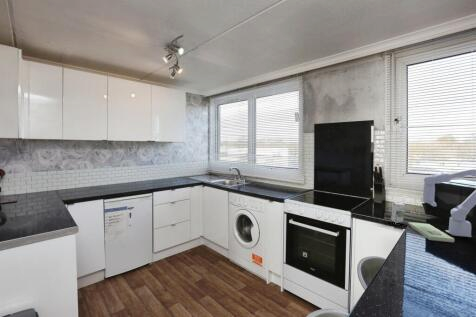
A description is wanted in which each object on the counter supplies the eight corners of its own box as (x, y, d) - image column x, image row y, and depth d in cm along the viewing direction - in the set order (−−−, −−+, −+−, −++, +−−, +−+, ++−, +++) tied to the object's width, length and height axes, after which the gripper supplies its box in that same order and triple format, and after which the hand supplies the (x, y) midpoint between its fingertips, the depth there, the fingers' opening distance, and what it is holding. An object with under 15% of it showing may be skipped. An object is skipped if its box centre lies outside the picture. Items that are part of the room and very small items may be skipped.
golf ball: (437, 238, 137) (437, 231, 139) (442, 236, 133) (441, 230, 135) (430, 236, 138) (429, 229, 140) (434, 234, 134) (434, 228, 136)
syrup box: (398, 222, 163) (399, 202, 162) (404, 224, 157) (405, 204, 156) (390, 221, 163) (391, 201, 162) (395, 224, 157) (396, 203, 157)
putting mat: (428, 226, 153) (428, 223, 153) (454, 242, 128) (454, 238, 128) (408, 224, 157) (408, 222, 156) (429, 239, 131) (429, 236, 131)
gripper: (416, 191, 157) (415, 210, 158) (427, 196, 143) (426, 217, 144) (428, 192, 155) (427, 211, 156) (441, 196, 141) (439, 218, 142)
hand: (427, 214), depth 150 cm, fingers closed
